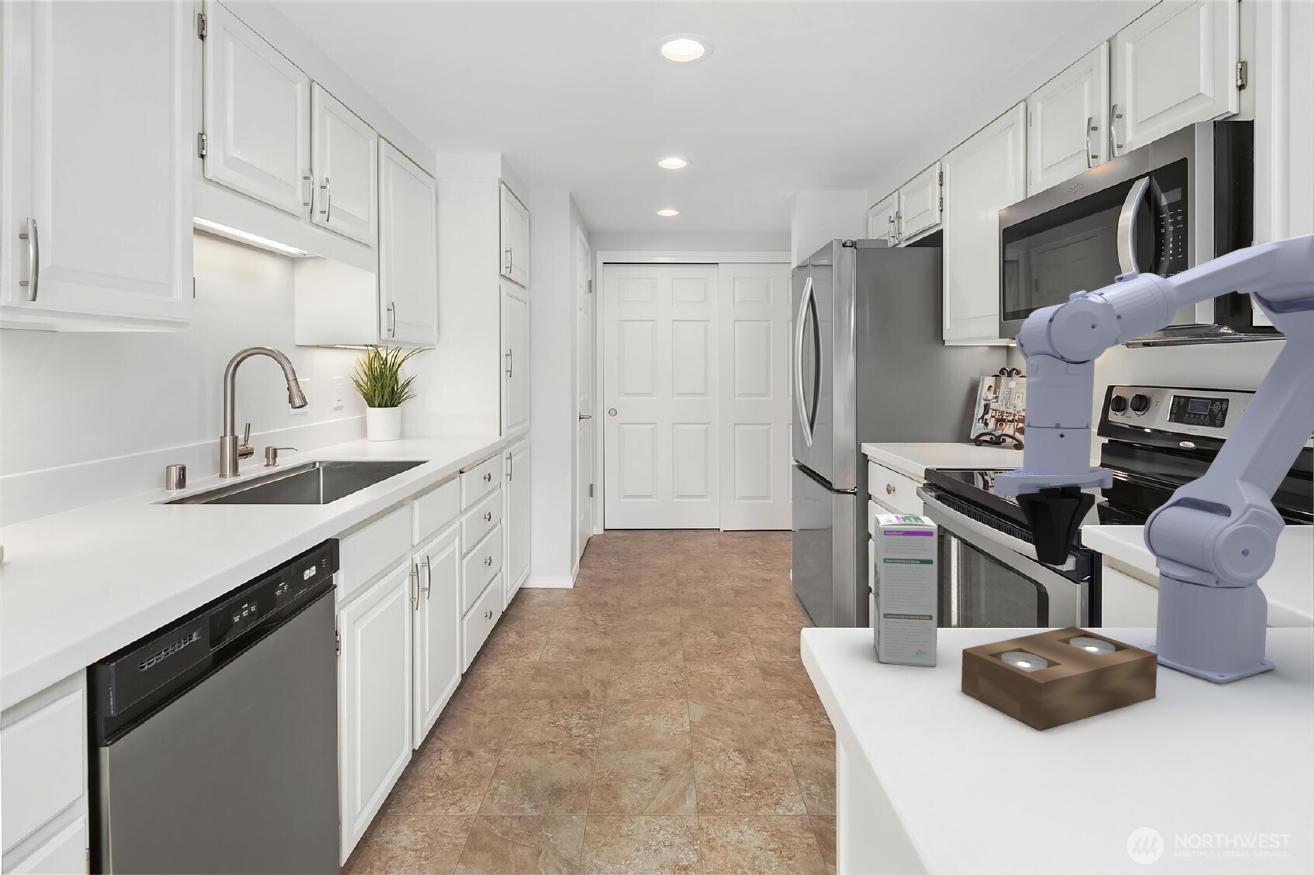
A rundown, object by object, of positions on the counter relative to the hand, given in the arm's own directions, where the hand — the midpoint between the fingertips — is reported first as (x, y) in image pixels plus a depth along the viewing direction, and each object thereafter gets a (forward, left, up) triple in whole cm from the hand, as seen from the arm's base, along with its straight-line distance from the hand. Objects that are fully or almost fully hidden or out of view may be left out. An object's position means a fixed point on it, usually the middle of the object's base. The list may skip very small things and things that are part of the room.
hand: (1051, 563), depth 69 cm
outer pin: (+10, +5, -10) cm, 15 cm away
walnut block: (+5, +5, -10) cm, 13 cm away
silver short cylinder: (+1, +5, -10) cm, 12 cm away
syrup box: (+11, -8, -11) cm, 17 cm away
